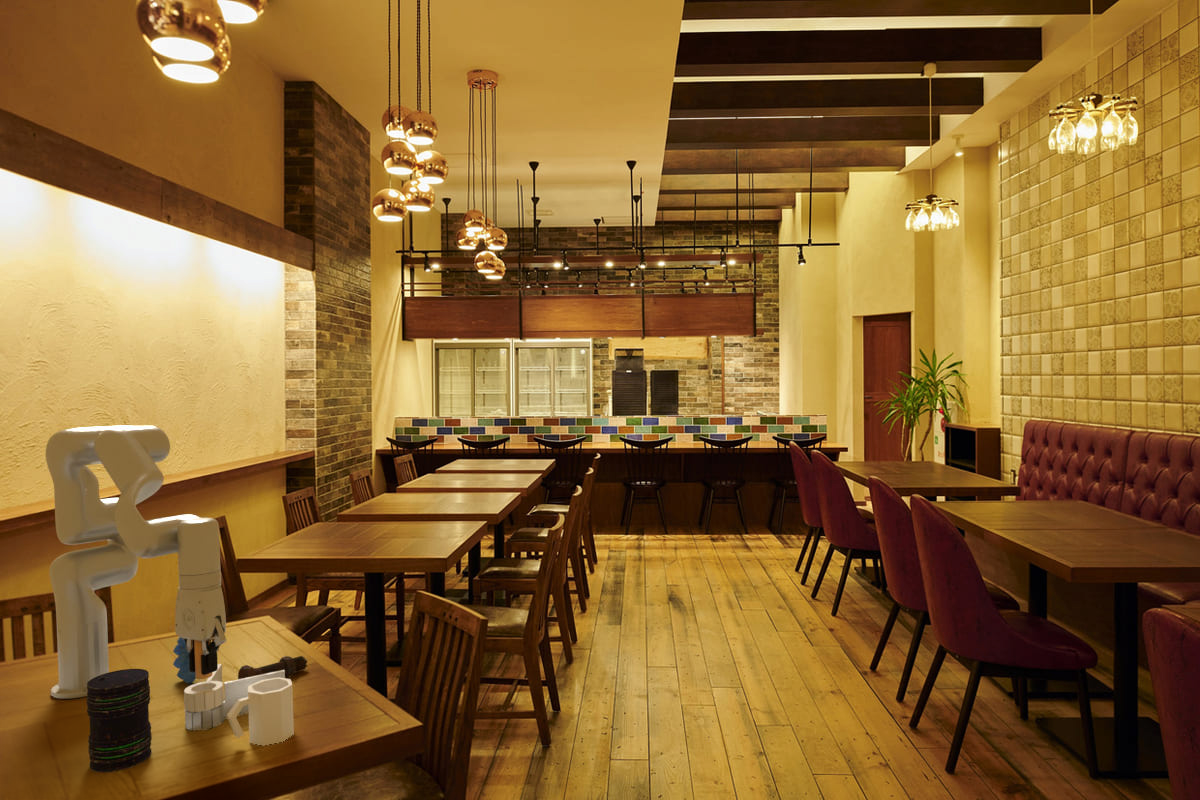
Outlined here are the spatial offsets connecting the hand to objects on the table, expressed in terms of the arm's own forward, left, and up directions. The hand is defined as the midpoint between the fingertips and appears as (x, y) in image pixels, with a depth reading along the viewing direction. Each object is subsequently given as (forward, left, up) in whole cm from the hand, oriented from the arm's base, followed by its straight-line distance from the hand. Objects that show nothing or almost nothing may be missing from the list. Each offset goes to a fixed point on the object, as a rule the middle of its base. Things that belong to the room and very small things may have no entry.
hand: (203, 670), depth 158 cm
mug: (+15, +8, -11) cm, 20 cm away
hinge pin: (0, 0, -1) cm, 1 cm away
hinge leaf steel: (0, +6, -11) cm, 12 cm away
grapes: (-27, +1, -11) cm, 29 cm away
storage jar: (+8, -15, -11) cm, 20 cm away
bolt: (-17, +17, -11) cm, 26 cm away
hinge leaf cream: (-5, +2, -10) cm, 12 cm away
